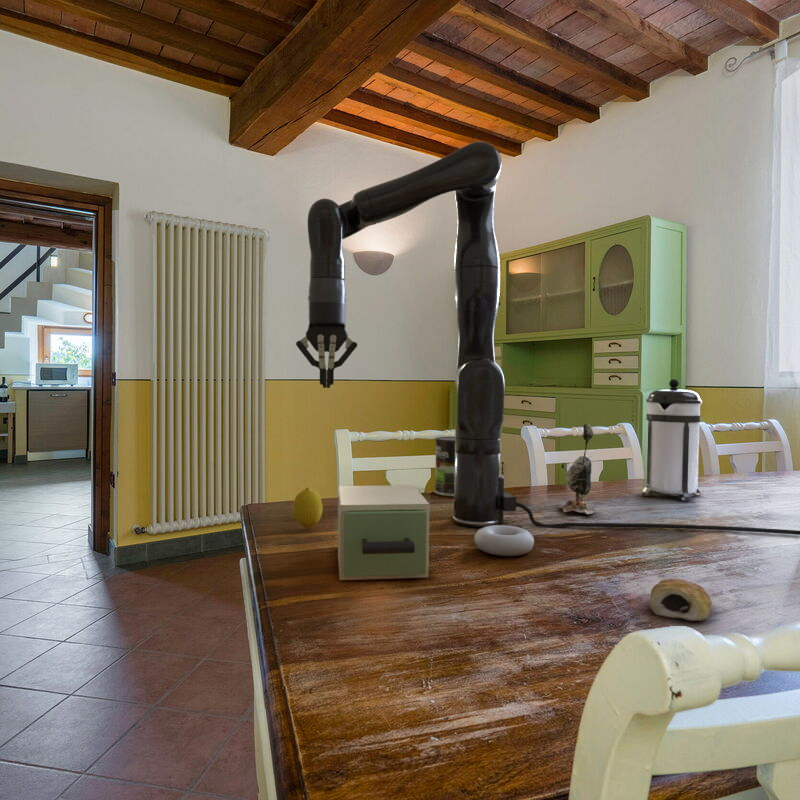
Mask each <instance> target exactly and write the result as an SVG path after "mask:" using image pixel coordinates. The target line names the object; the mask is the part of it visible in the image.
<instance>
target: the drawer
mask: <svg viewBox="0 0 800 800" xmlns="http://www.w3.org/2000/svg"><path fill="white" fill-rule="evenodd" d="M426 520H427V512H426V511H425V510H381V511H347V512H345V532H344V576H372V575H405V574H426Z"/></svg>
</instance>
